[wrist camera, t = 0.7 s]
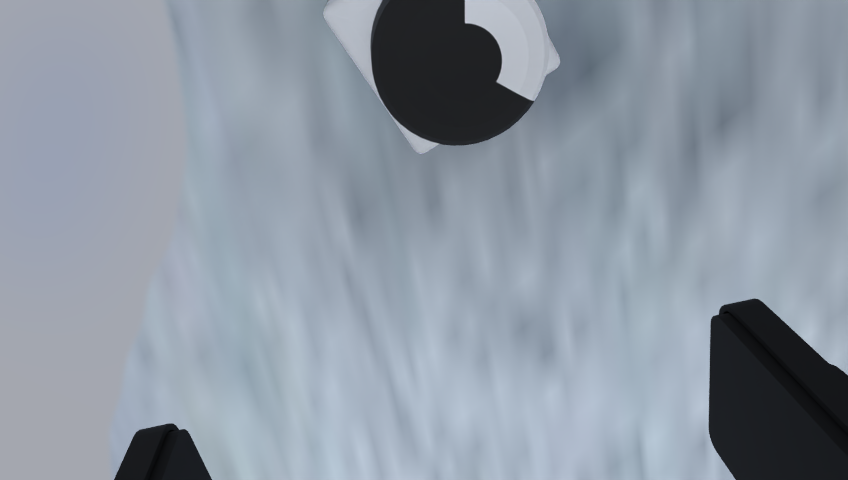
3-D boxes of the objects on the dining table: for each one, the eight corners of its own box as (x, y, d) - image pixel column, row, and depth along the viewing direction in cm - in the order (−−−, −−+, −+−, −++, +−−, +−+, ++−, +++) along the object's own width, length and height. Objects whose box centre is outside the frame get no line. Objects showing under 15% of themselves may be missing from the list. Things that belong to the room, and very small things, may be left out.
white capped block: (408, 115, 33) (430, 204, 22) (327, -5, 30) (308, 30, 19) (525, 38, 32) (607, 93, 21) (452, -95, 29) (505, -110, 18)
